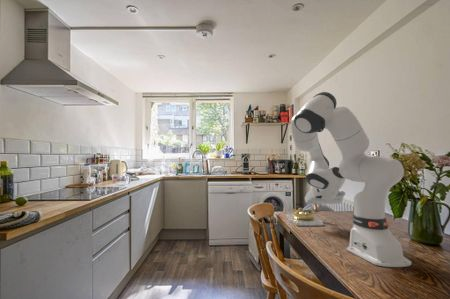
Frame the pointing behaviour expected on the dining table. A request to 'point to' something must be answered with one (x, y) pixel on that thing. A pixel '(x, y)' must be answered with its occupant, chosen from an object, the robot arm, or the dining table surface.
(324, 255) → the dining table surface
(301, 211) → the ring nut
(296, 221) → the cap plate
